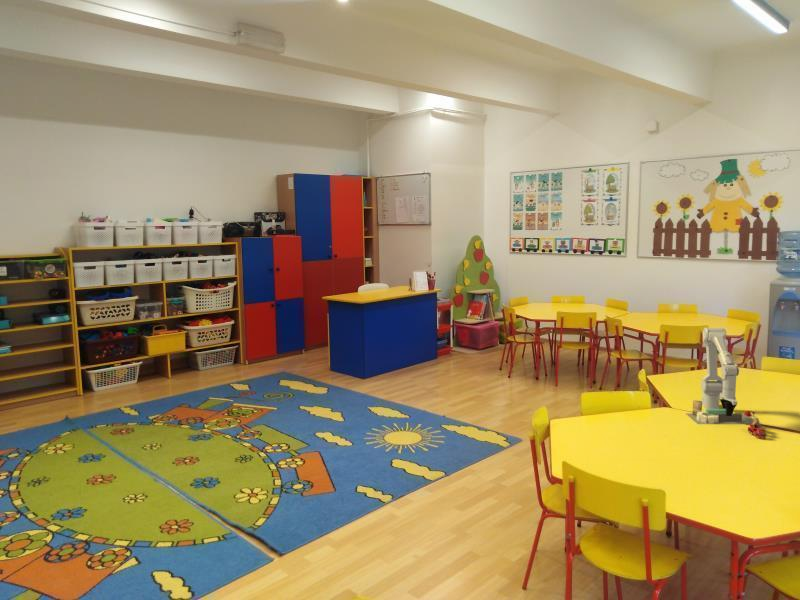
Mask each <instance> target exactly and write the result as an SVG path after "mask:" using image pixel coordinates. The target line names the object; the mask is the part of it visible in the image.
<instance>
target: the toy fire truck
mask: <svg viewBox="0 0 800 600" xmlns="http://www.w3.org/2000/svg"><path fill="white" fill-rule="evenodd" d="M743 412H744V413H743V414H744V415H746V416H747V417H752V418H753V419H754V421H753V423H752V424H749V426H748V427H747V432H748V433H749V434H751V436H755V437H756V439H760V440H761V439H766V436H767V433H766V429H765V428H763V427H762V428H760V427H758V425H757V424H758V423H760V419H759V417H757V415H755V411H753V410H745V411H743ZM754 426H755V427H754Z"/></svg>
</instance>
